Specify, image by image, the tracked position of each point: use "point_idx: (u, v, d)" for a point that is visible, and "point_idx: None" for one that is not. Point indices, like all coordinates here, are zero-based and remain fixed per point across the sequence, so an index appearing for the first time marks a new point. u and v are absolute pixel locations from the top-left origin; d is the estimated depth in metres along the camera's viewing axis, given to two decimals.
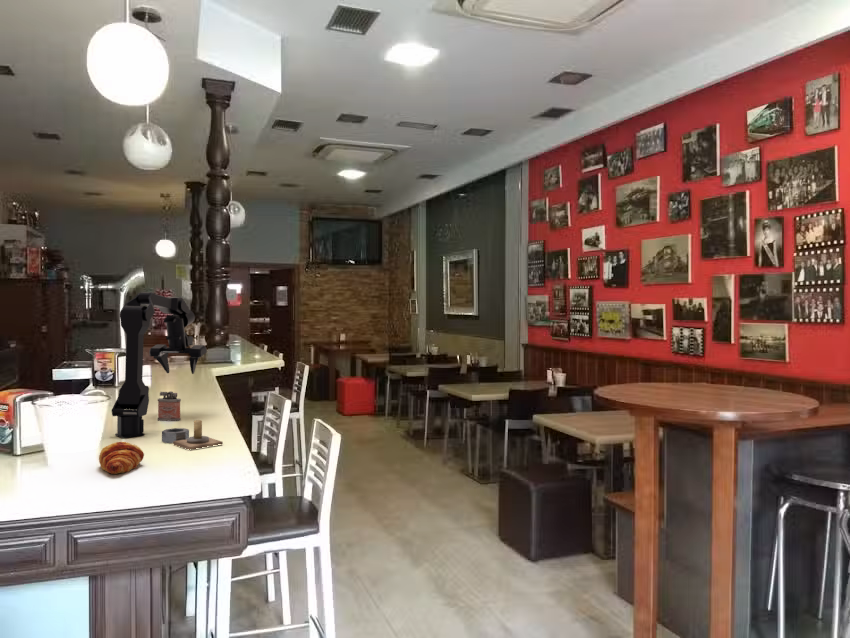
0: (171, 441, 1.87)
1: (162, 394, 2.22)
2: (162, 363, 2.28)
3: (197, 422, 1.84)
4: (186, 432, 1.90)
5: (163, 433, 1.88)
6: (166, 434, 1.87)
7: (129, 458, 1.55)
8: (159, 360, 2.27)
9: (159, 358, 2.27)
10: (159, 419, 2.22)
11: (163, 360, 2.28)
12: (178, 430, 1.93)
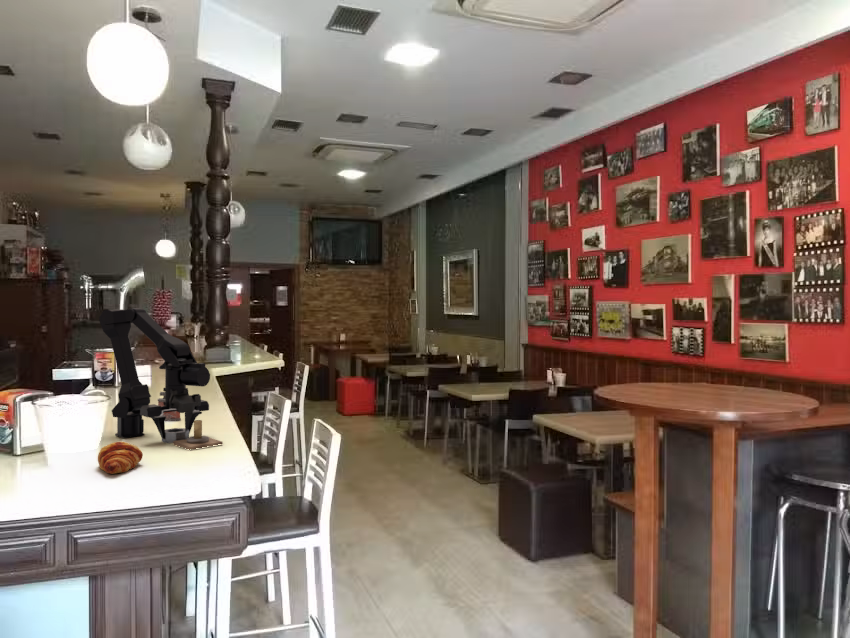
0: (171, 441, 1.87)
1: (162, 394, 2.22)
2: None
3: (197, 422, 1.84)
4: (186, 432, 1.90)
5: None
6: (166, 434, 1.87)
7: (127, 458, 1.55)
8: None
9: None
10: None
11: (185, 416, 1.94)
12: (178, 430, 1.93)
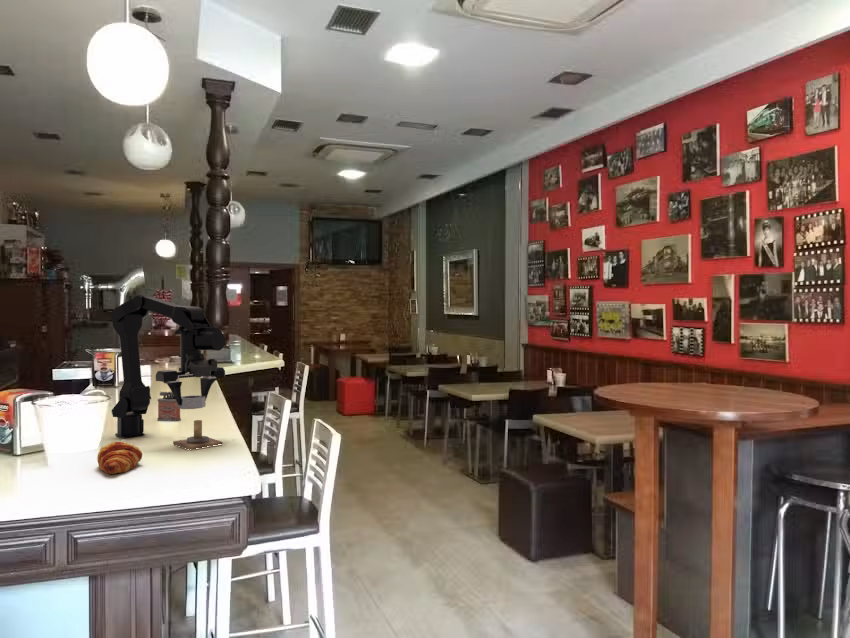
0: (188, 407, 1.83)
1: (162, 394, 2.22)
2: None
3: (197, 422, 1.84)
4: (202, 398, 1.86)
5: None
6: (182, 400, 1.83)
7: (126, 458, 1.55)
8: None
9: None
10: (159, 419, 2.22)
11: (201, 383, 1.90)
12: (194, 397, 1.89)
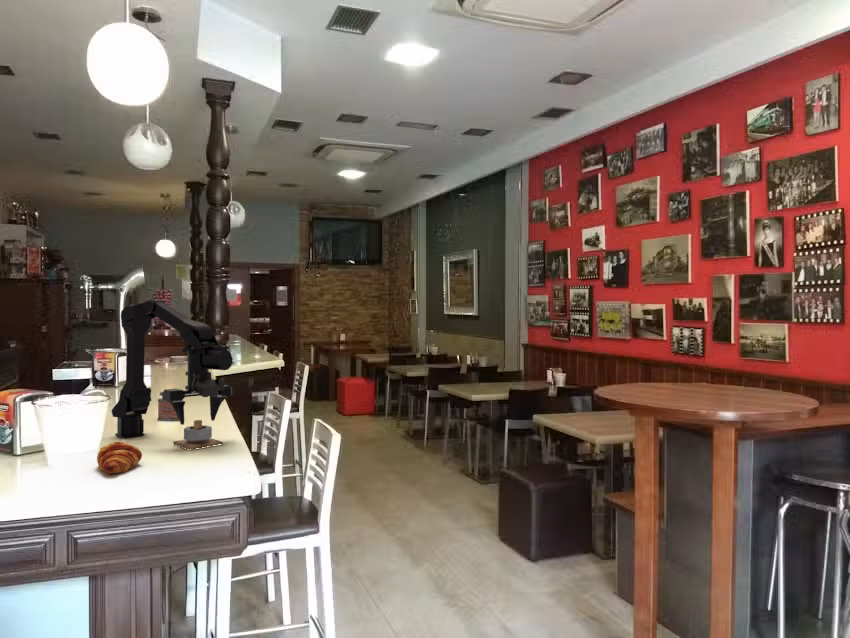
0: (194, 438, 1.81)
1: None
2: None
3: (197, 422, 1.84)
4: (209, 429, 1.84)
5: (185, 430, 1.82)
6: (189, 431, 1.81)
7: (126, 458, 1.55)
8: None
9: None
10: (159, 419, 2.22)
11: (211, 401, 1.89)
12: None
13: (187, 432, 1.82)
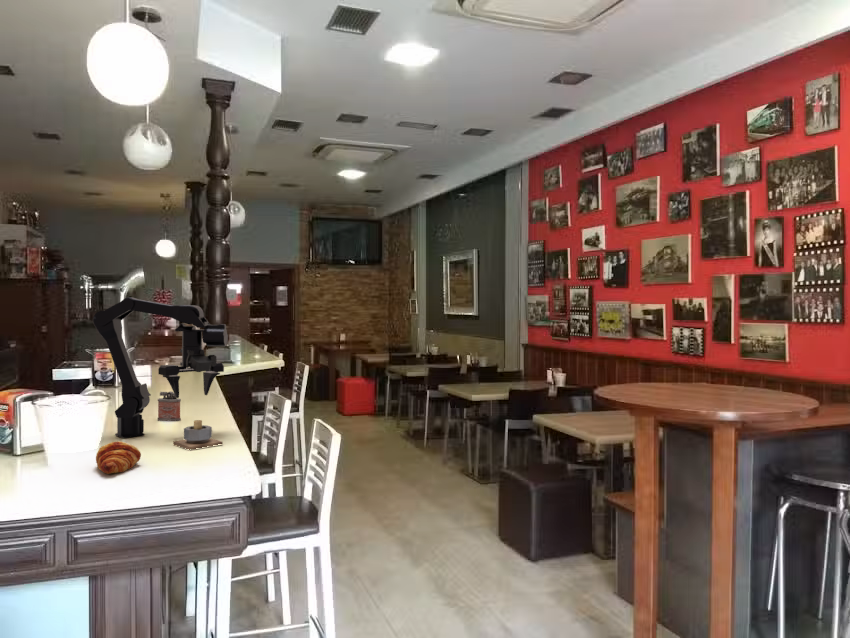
0: (194, 438, 1.81)
1: (162, 394, 2.22)
2: None
3: (197, 422, 1.84)
4: (209, 429, 1.84)
5: (185, 430, 1.82)
6: (189, 431, 1.81)
7: (124, 458, 1.55)
8: None
9: None
10: (159, 419, 2.22)
11: (204, 377, 2.03)
12: None
13: (187, 432, 1.82)
